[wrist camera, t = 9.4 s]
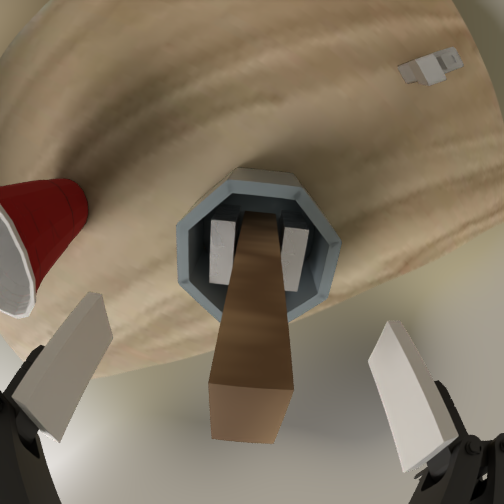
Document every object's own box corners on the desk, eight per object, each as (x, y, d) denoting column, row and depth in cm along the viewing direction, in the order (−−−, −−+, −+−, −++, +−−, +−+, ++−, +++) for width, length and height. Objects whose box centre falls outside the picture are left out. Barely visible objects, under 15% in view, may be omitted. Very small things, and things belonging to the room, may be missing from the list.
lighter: (427, 54, 15) (483, 38, 7) (436, 71, 15) (494, 61, 8) (370, 77, 17) (419, 57, 9) (381, 95, 17) (434, 85, 10)
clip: (217, 258, 23) (209, 282, 20) (220, 203, 21) (211, 219, 18) (292, 265, 23) (297, 291, 20) (301, 212, 21) (309, 229, 18)
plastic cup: (69, 271, 26) (4, 336, 15) (24, 192, 22) (-54, 233, 11) (131, 228, 23) (51, 303, 12) (77, 132, 19) (-25, 153, 8)
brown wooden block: (241, 256, 23) (211, 438, 9) (245, 210, 21) (208, 383, 7) (269, 259, 23) (273, 443, 9) (275, 213, 21) (293, 390, 7)
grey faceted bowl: (195, 280, 25) (180, 317, 20) (197, 164, 20) (176, 176, 16) (308, 292, 25) (317, 331, 20) (331, 178, 20) (351, 194, 16)
